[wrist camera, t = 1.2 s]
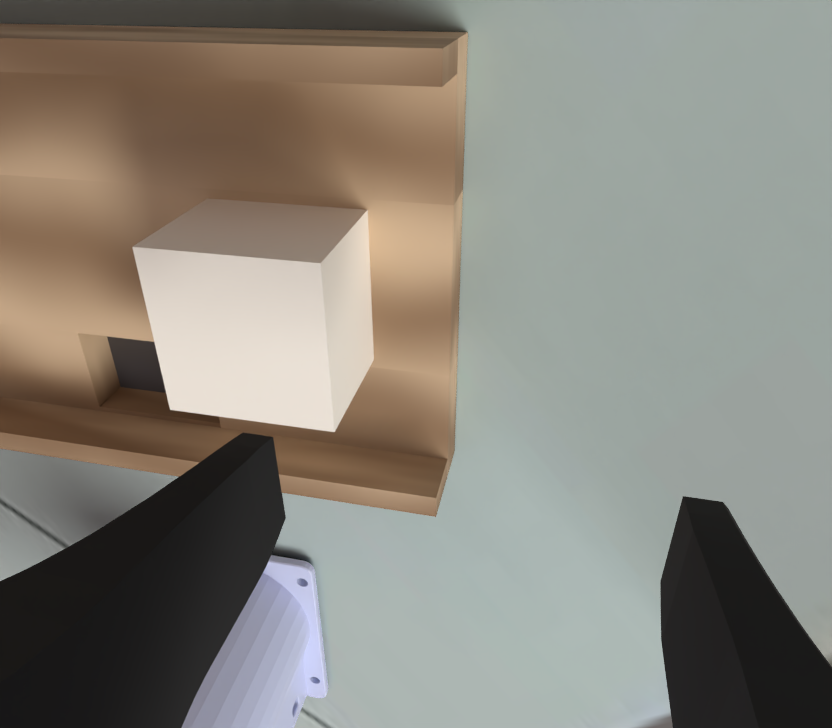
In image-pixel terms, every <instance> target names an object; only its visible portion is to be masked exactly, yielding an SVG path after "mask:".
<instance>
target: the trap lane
mask: <svg viewBox="0 0 832 728" xmlns="http://www.w3.org/2000/svg"><path fill="white" fill-rule="evenodd" d="M467 42H468V32H425V31H372V30H320V29H267V28H214V27H161V26H108V25H55V24H2V23H0V448H1V449H7V450H13V451H20V452H26V453H33V454H39V455H45V456H52V457H58V458H65V459H71V460H77V461H84V462H90V463H96V464H103V465H109V466H116V467H122V468H128V469H135V470H141V471H148V472H154V473H160V474H167V475H173V476H181V475H183V474H184V473H185V472H187V471H188V470H190V469H191V468H192V467H194V466H195V465H197V464H198V463H200V462H201V461H202V460H204V459H205V458H207V457H208V456H209V455H211V454H212V453H214V452H215V451H216V450H218V449H219V448H221V447H222V446H223V445H225V444H226V443H228V442H229V441H231V440H232V439H234V438H235V437H237V436H238V435H240V434H241V433H250V434H257V435H264V436H271V437H273V440H274V446H275V452H276V459H277V465H278V472H279V478H280V485H281V491H282V493H288V494H295V495H301V496H307V497H314V498H320V499H326V500H333V501H339V502H346V503H352V504H358V505H365V506H371V507H378V508H384V509H390V510H397V511H403V512H410V513H416V514H422V515H429V516H435V517H436V514H437V511H438V507H439V504H440V500H441V497H442V493H443V490H444V486H445V483H446V479H447V476H448V472H449V469H450V465H451V462H452V458H453V454H454V450H455V418H456V387H457V356H458V324H459V293H460V261H461V230H462V199H463V167H464V136H465V105H466V73H467ZM208 198H209V199H223V200H237V201H251V202H265V203H279V204H293V205H308V206H322V207H336V208H350V209H364V210H368V229H369V253H370V277H371V301H372V325H373V349H374V360H373V362H372V364H371V366H370V368H369V370H368V371H367V373H366V375H365V377H364V379H363V381H362V382H361V384H360V386H359V388H358V390H357V392H356V394H355V395H354V397H353V399H352V401H351V403H350V405H349V406H348V408H347V410H346V412H345V414H344V416H343V417H342V419H341V421H340V423H339V425H338V427H337V429H336V430H335V432H329V431H322V430H315V429H307V428H300V427H293V426H285V425H278V424H271V423H263V422H256V421H249V420H241V419H234V418H227V417H219V416H212V415H205V414H197V413H190V412H183V411H175V410H170V407H169V403H168V399H167V394H166V390H165V386H164V382H163V377H162V373H161V369H160V364H159V360H158V356H157V351H156V347H155V343H154V338H153V334H152V330H151V325H150V321H149V317H148V312H147V308H146V304H145V300H144V295H143V291H142V287H141V282H140V278H139V274H138V269H137V265H136V261H135V256H134V252H133V248H132V247H133V246H134V245H136V244H137V243H139V242H141V241H142V240H144V239H145V238H147V237H148V236H150V235H151V234H153V233H155V232H156V231H158V230H159V229H161V228H162V227H164V226H165V225H167V224H169V223H170V222H172V221H173V220H175V219H176V218H178V217H179V216H181V215H183V214H184V213H186V212H187V211H189V210H190V209H192V208H194V207H195V206H197V205H198V204H200V203H201V202H203V201H204V200H206V199H208Z"/></svg>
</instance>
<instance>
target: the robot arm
mask: <svg viewBox="0 0 832 728" xmlns="http://www.w3.org/2000/svg"><path fill="white" fill-rule="evenodd" d="M285 518H286V517H285V511H284V504H283V498H282V491H281V485H280V478H279V472H278V465H277V459H276V452H275V446H274V440H273V437H271V436H264V435H257V434H250V433H241V434H240V435H238V436H237V437H235V438H234V439H232V440H231V441H229V442H228V443H226V444H225V445H223V446H222V447H221V448H219V449H218V450H216V451H215V452H214V453H212V454H211V455H209V456H208V457H207V458H205V459H204V460H202V461H201V462H200V463H198V464H197V465H195V466H194V467H192V468H191V469H190V470H188V471H187V472H185V473H184V474H183V475H181V476H180V477H178V478H177V479H175V480H174V481H172V482H171V483H170V484H168V485H167V486H165V487H164V488H162V489H161V490H159V491H158V492H157V493H155V494H154V495H152V496H151V497H149V498H148V499H146V500H145V501H143V502H142V503H140V504H138V505H137V506H135V507H134V508H132V509H130V510H129V511H127V512H126V513H124V514H123V515H121V516H119V517H118V518H116V519H115V520H113V521H112V522H110V523H108V524H107V525H105V526H104V527H102V528H101V529H99V530H97V531H96V532H94V533H92V534H91V535H89V536H87V537H85V538H84V539H82V540H80V541H78V542H77V543H75V544H73V545H71V546H70V547H68V548H66V549H64V550H62V551H60V552H58V553H57V554H55V555H53V556H51V557H49V558H47V559H45V560H43V561H42V562H40V563H38V564H36V565H34V566H32V567H30V568H28V569H26V570H24V571H22V572H19V573H17V574H15V575H13V576H11V577H9V578H7V579H4V580H2V581H0V728H294V726H295V724H296V721H297V718H298V716H299V713H300V711H301V708H302V706H303V703H304V700H305V698H306V696H311V697H315V698H324V697H325V696H326V694H327V692H328V681H327V672H326V663H325V655H324V646H323V637H322V629H321V620H320V611H319V603H318V594H317V585H316V577H315V570H314V567H313V566H312V565H311V564H310V563H308V562H306V561H303V560H297V559H291V558H286V557H280V556H274V555H271V554H272V552H273V549H274V547H275V544H276V542H277V539H278V537H279V534H280V531H281V529H282V526H283V523H284V521H285ZM661 640H662V648H663V656H664V664H665V672H666V679H667V687H668V694H669V702H670V709H671V716H672V723H673V728H832V667H831V665H830V664H829V663H828V661H827V660H826V659H825V657H824V656H823V655H822V653H821V652H820V651H819V649H818V648H817V647H816V645H815V644H814V643H813V641H812V640H811V638H810V637H809V636H808V634H807V633H806V631H805V630H804V629H803V627H802V626H801V624H800V623H799V621H798V620H797V618H796V617H795V615H794V614H793V612H792V611H791V610H790V608H789V607H788V605H787V604H786V602H785V601H784V599H783V598H782V596H781V595H780V593H779V592H778V590H777V589H776V587H775V586H774V584H773V583H772V581H771V579H770V578H769V576H768V575H767V573H766V572H765V570H764V568H763V567H762V565H761V564H760V562H759V560H758V559H757V557H756V555H755V554H754V552H753V551H752V549H751V547H750V546H749V544H748V542H747V540H746V539H745V537H744V535H743V534H742V532H741V530H740V528H739V527H738V525H737V523H736V521H735V520H734V518H733V516H732V514H731V513H730V511H729V509H728V508H727V507H726V505H725V504H724V503H723V502H719V501H712V500H705V499H698V498H691V497H684V496H683V499H682V503H681V506H680V510H679V514H678V518H677V521H676V525H675V529H674V533H673V537H672V540H671V544H670V548H669V552H668V556H667V559H666V563H665V567H664V571H663V574H662V578H661Z"/></svg>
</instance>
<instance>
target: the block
mask: <svg viewBox="0 0 832 728" xmlns="http://www.w3.org/2000/svg"><path fill="white" fill-rule="evenodd" d="M132 248H133V252H134V256H135V261H136V265H137V269H138V274H139V278H140V282H141V287H142V291H143V295H144V300H145V304H146V308H147V312H148V317H149V321H150V325H151V330H152V334H153V338H154V343H155V347H156V351H157V356H158V360H159V364H160V369H161V373H162V377H163V382H164V386H165V390H166V394H167V399H168V403H169V407H170V410H175V411H183V412H190V413H197V414H205V415H212V416H219V417H227V418H234V419H241V420H249V421H256V422H263V423H271V424H278V425H285V426H293V427H300V428H307V429H315V430H322V431H329V432H335V430H336V429H337V427H338V425H339V423H340V421H341V419H342V417H343V416H344V414H345V412H346V410H347V408H348V406H349V405H350V403H351V401H352V399H353V397H354V395H355V394H356V392H357V390H358V388H359V386H360V384H361V382H362V381H363V379H364V377H365V375H366V373H367V371H368V370H369V368H370V366H371V364H372V362H373V360H374V349H373V325H372V301H371V277H370V253H369V229H368V210H364V209H350V208H336V207H322V206H308V205H293V204H279V203H265V202H251V201H237V200H223V199H209V198H208V199H206V200H204V201H203V202H201V203H200V204H198V205H197V206H195V207H194V208H192V209H190V210H189V211H187V212H186V213H184V214H183V215H181V216H179V217H178V218H176V219H175V220H173V221H172V222H170V223H169V224H167V225H165V226H164V227H162V228H161V229H159V230H158V231H156V232H155V233H153V234H151V235H150V236H148V237H147V238H145V239H144V240H142V241H141V242H139V243H137V244H136V245H134V246H133V247H132Z"/></svg>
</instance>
